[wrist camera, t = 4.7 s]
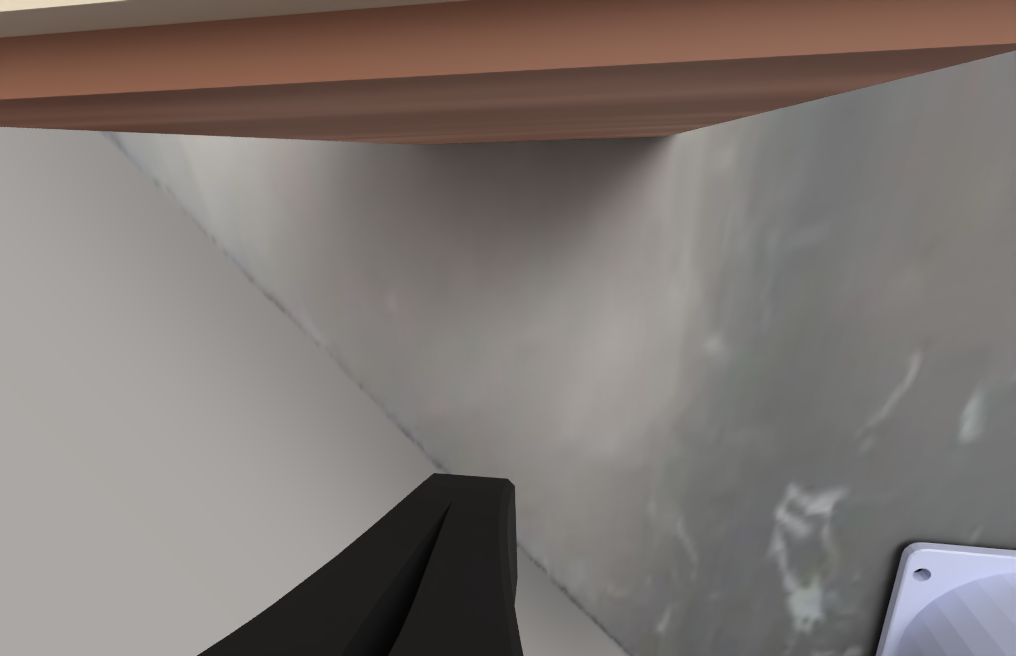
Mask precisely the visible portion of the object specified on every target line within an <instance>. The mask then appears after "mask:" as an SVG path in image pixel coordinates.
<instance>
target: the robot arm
mask: <svg viewBox="0 0 1016 656" xmlns="http://www.w3.org/2000/svg"><path fill="white" fill-rule="evenodd" d="M922 568H923V569H922ZM918 569H922V570H921V571H919V572H914V571H916V570H918ZM516 586H517V545H516V510H515V486H514V485H513V484H512V483H511V482H510V481H509V480H508V479H503V478H490V477H477V476H464V475H451V474H438V473H434V474H432V475H431V476H430V477H429V478H428V479H427V480H425V481H424V482H423V483H422V484H420V485H419V486H418V487H417V488H416V489H415V490H414V491H412V492H411V493H410V494H409V495H408V496H407V497H406V498H404V499H403V500H402V501H401V502H400V503H398V504H397V505H396V506H395V507H394V508H393V509H392V510H390V511H389V512H388V513H387V514H386V515H385V516H383V517H382V518H381V519H380V520H379V521H378V522H376V523H375V524H374V525H373V526H372V527H371V528H369V529H368V530H367V531H366V532H365V533H363V534H362V535H361V536H360V537H359V538H357V539H356V540H355V541H354V542H353V543H352V544H350V545H349V546H348V547H347V548H345V549H344V550H343V551H342V552H341V553H340V554H338V555H337V556H336V557H334V558H333V559H332V560H331V561H329V562H328V563H327V564H325V565H324V566H323V567H322V568H320V569H319V570H317V571H316V572H315V573H314V574H312V575H311V576H310V577H308V578H307V579H306V580H304V581H303V582H302V583H300V584H299V585H298V586H296V587H295V588H294V589H293V590H291V591H290V592H289V593H287V594H286V595H285V596H283V597H282V598H281V599H279V600H278V601H277V602H276V603H274V604H273V605H271V606H270V607H269V608H267V609H266V610H264V611H263V612H262V613H260V614H259V615H257V616H256V617H255V618H253V619H252V620H250V621H249V622H248V623H246V624H244V625H243V626H241V627H240V628H238V629H237V630H236V631H234V632H233V633H231V634H230V635H228V636H226V637H225V638H224V639H222V640H220V641H219V642H217V643H216V644H214V645H213V646H211V647H210V648H208V649H207V650H205V651H203V652H202V653H200V654H199V655H197V656H523V651H522V646H521V641H520V636H519V630H518V624H517V618H516V613H515V607H514V605H515V595H516ZM876 656H1016V550H1005V549H993V548H982V547H970V546H959V545H948V544H936V543H925V542H920V543H913V544H911V545H909V546H908V547H906V548H905V549H904V551H903V553H902V556H901V560H900V564H899V568H898V572H897V576H896V579H895V583H894V587H893V591H892V595H891V599H890V602H889V606H888V610H887V614H886V618H885V622H884V626H883V629H882V633H881V637H880V641H879V645H878V649H877V652H876Z"/></svg>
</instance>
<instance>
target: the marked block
mask: <svg viewBox="0 0 1016 656" xmlns="http://www.w3.org/2000/svg"><path fill="white" fill-rule="evenodd" d="M1015 50H1016V0H0V127H18V128H42V129H66V130H90V131H113V132H136V133H160V134H184V135H207V136H231V137H255V138H278V139H302V140H325V141H349V142H373V143H396V144H445V143H476V142H507V141H537V140H568V139H599V138H630V137H661V136H670V135H674V134H678V133H682V132H686V131H690V130H694V129H698V128H702V127H707V126H711V125H715V124H719V123H723V122H727V121H731V120H735V119H739V118H743V117H747V116H751V115H755V114H759V113H763V112H767V111H771V110H775V109H780V108H784V107H788V106H792V105H796V104H800V103H804V102H808V101H812V100H816V99H820V98H824V97H828V96H832V95H836V94H840V93H844V92H848V91H853V90H857V89H861V88H865V87H869V86H873V85H877V84H881V83H885V82H889V81H893V80H897V79H901V78H905V77H909V76H913V75H917V74H921V73H925V72H930V71H934V70H938V69H942V68H946V67H950V66H954V65H958V64H962V63H966V62H970V61H974V60H978V59H982V58H986V57H990V56H994V55H998V54H1003V53H1007V52H1011V51H1015Z"/></svg>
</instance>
